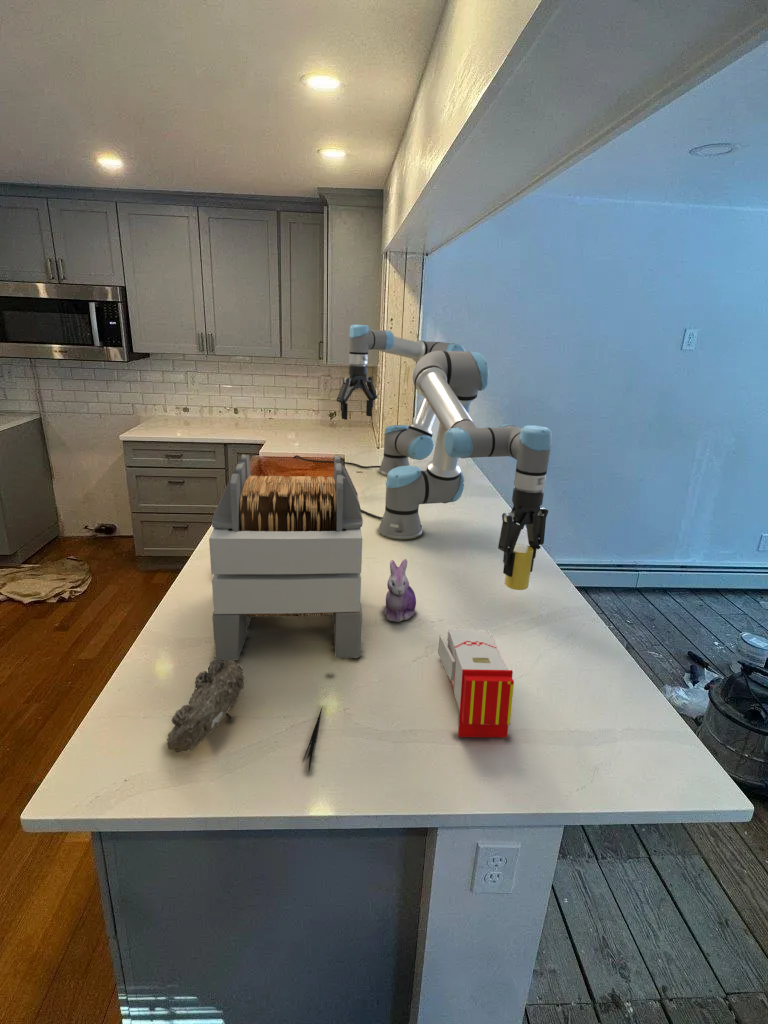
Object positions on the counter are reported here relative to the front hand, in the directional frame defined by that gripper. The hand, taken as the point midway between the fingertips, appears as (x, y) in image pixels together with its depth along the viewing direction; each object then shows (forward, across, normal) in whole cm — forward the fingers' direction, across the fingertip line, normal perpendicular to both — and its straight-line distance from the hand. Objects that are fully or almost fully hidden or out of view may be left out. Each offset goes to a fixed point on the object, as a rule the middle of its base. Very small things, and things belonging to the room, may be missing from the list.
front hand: (517, 572), depth 149 cm
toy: (+11, -32, -24) cm, 42 cm away
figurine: (+11, -30, +10) cm, 33 cm away
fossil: (+11, -82, -8) cm, 83 cm away
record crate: (+11, -56, +18) cm, 60 cm away
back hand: (-21, +7, +110) cm, 112 cm away
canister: (+4, 0, 0) cm, 4 cm away
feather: (+11, -64, -18) cm, 67 cm away
